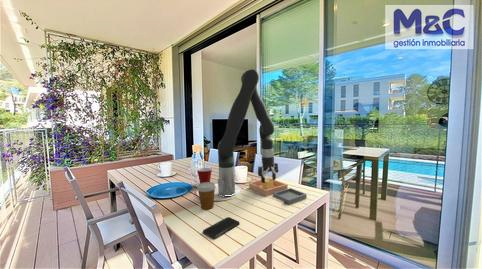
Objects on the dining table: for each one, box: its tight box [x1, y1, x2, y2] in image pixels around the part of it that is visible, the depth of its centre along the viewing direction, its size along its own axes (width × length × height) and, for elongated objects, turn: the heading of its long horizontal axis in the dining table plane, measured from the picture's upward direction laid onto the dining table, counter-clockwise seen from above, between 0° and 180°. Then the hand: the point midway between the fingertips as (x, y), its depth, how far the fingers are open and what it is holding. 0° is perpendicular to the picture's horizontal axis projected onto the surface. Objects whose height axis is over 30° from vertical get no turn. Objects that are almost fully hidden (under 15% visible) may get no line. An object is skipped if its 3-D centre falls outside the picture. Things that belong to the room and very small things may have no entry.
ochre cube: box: [262, 179, 274, 190], centre depth 128 cm, size 5×5×5 cm
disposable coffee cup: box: [196, 181, 217, 211], centre depth 105 cm, size 10×10×12 cm
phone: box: [202, 216, 240, 240], centre depth 86 cm, size 8×1×15 cm
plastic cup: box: [196, 167, 213, 184], centre depth 138 cm, size 11×11×12 cm
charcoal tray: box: [272, 187, 308, 205], centre depth 115 cm, size 14×12×2 cm
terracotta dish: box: [248, 177, 289, 197], centre depth 128 cm, size 17×17×4 cm
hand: (268, 181), depth 127 cm, fingers open, 8 cm apart
